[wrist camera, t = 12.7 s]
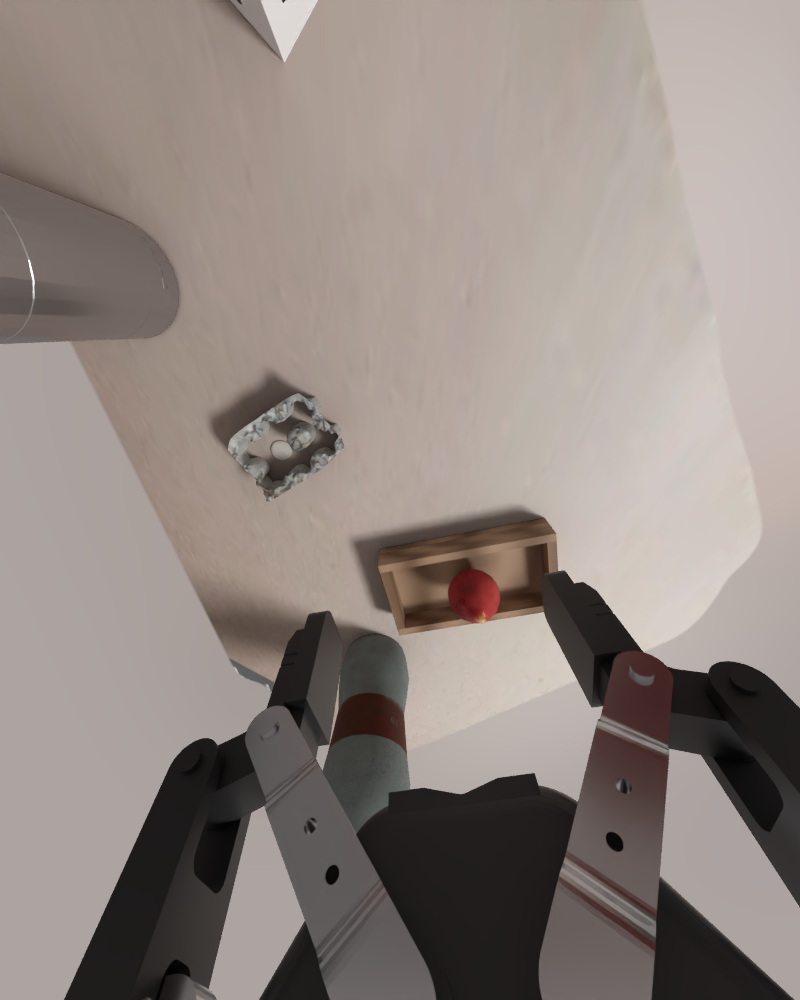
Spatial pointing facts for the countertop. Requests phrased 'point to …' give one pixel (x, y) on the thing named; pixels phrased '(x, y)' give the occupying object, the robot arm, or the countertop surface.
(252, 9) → the grater
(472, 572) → the onion
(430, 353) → the countertop surface
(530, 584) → the wooden tray
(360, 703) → the bottle
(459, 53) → the countertop surface
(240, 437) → the egg carton
